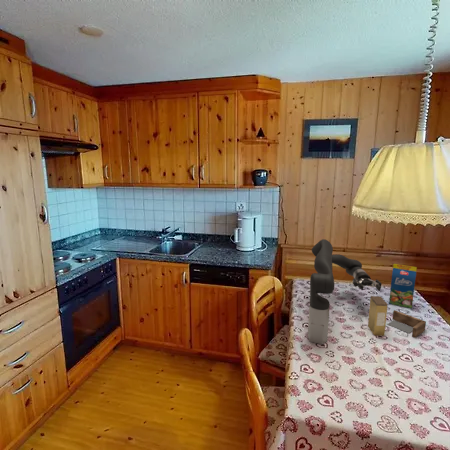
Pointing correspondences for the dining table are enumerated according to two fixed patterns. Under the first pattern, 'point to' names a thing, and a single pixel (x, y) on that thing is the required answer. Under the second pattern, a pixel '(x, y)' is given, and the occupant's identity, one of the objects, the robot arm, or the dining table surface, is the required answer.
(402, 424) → the dining table surface
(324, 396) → the dining table surface
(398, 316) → the corner arena
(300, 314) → the dining table surface
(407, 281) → the blue food package
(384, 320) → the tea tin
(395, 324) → the mat
